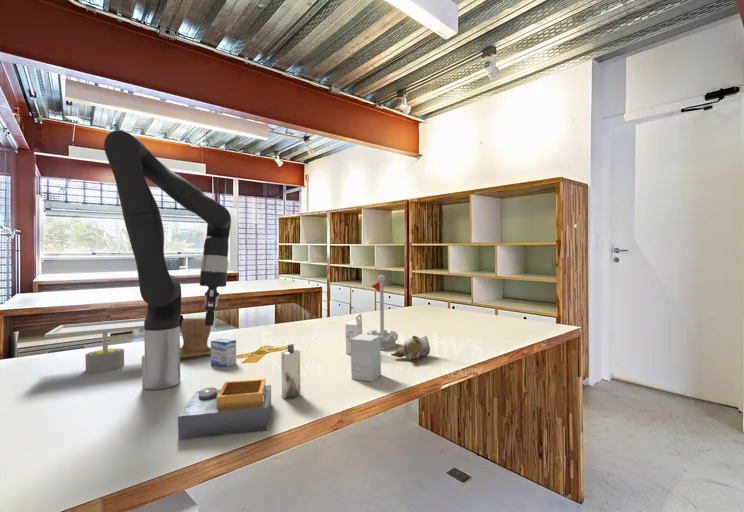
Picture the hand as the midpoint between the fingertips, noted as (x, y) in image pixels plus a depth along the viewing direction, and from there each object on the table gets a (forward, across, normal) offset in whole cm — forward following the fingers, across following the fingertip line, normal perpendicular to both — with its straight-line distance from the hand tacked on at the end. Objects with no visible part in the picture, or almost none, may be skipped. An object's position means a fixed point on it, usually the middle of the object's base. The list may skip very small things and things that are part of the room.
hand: (209, 324), depth 108 cm
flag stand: (+10, -20, +67) cm, 71 cm away
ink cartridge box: (+12, -17, +53) cm, 57 cm away
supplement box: (+15, +12, +47) cm, 51 cm away
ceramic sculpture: (+12, +2, +70) cm, 71 cm away
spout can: (+18, +18, +22) cm, 34 cm away
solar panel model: (+18, -34, -33) cm, 51 cm away
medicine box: (+16, -21, +5) cm, 27 cm away
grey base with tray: (+20, +26, +7) cm, 34 cm away
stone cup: (+15, -37, -6) cm, 41 cm away
